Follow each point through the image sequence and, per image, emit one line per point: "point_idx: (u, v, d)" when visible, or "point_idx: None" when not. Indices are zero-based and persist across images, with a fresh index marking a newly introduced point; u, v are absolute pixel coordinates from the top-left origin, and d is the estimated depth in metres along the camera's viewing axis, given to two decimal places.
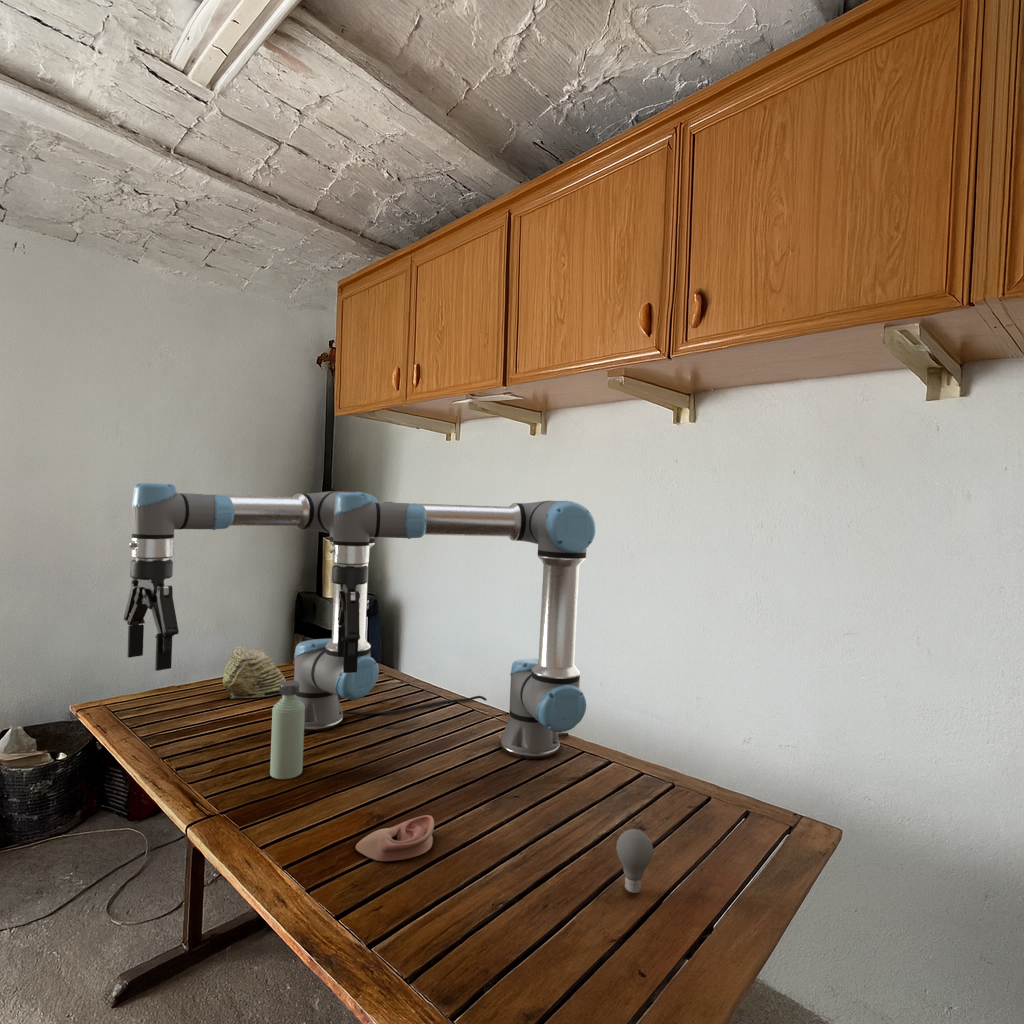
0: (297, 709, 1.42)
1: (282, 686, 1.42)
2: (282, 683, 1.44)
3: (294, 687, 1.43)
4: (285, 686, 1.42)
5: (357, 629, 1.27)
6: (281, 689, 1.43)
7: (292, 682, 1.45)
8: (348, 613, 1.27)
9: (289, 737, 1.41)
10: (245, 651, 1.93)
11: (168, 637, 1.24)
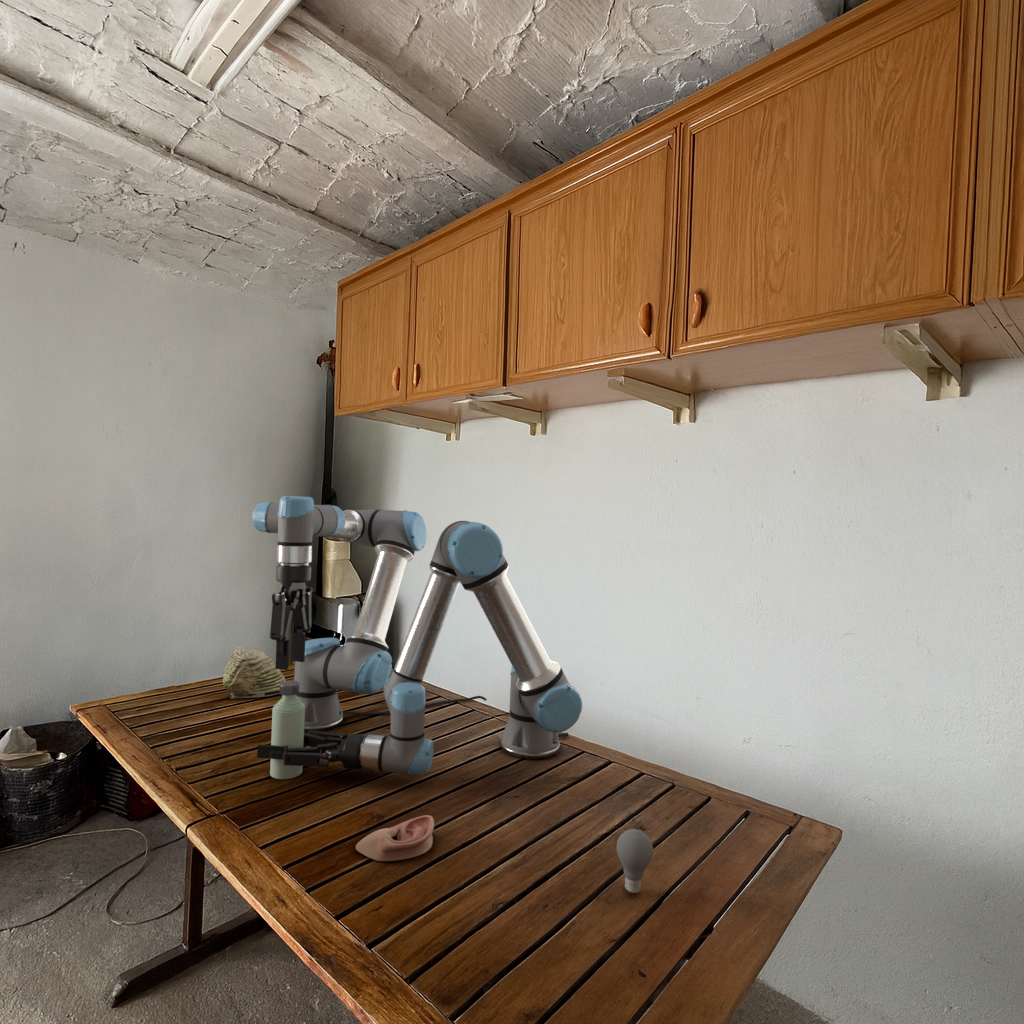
0: (297, 709, 1.42)
1: (282, 686, 1.42)
2: (282, 683, 1.44)
3: (294, 687, 1.43)
4: (285, 686, 1.42)
5: None
6: (281, 689, 1.43)
7: (292, 682, 1.45)
8: None
9: (289, 737, 1.41)
10: (245, 651, 1.93)
11: (279, 641, 1.39)
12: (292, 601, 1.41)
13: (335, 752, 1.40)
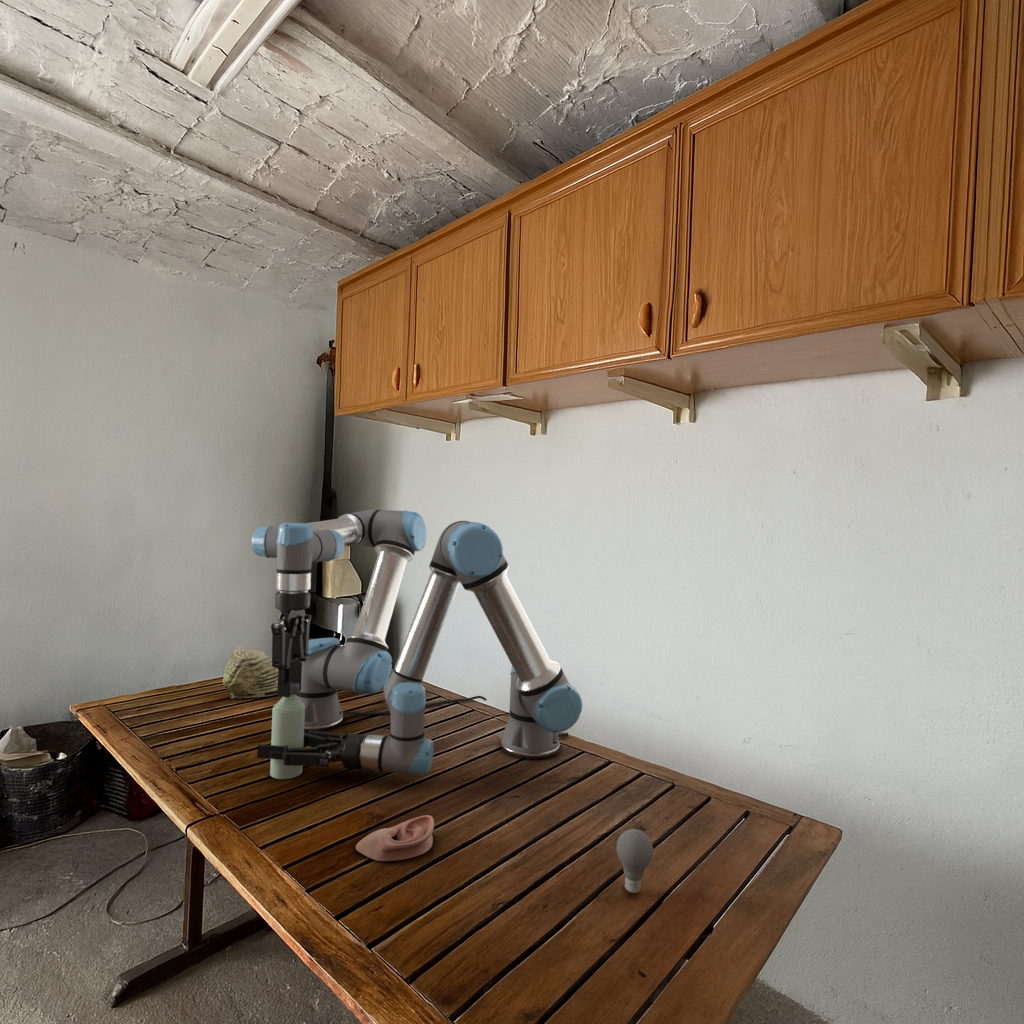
0: (297, 709, 1.42)
1: None
2: None
3: (294, 687, 1.43)
4: None
5: None
6: None
7: (292, 682, 1.45)
8: None
9: (289, 737, 1.41)
10: (245, 651, 1.93)
11: (280, 669, 1.40)
12: (291, 629, 1.42)
13: (335, 752, 1.40)
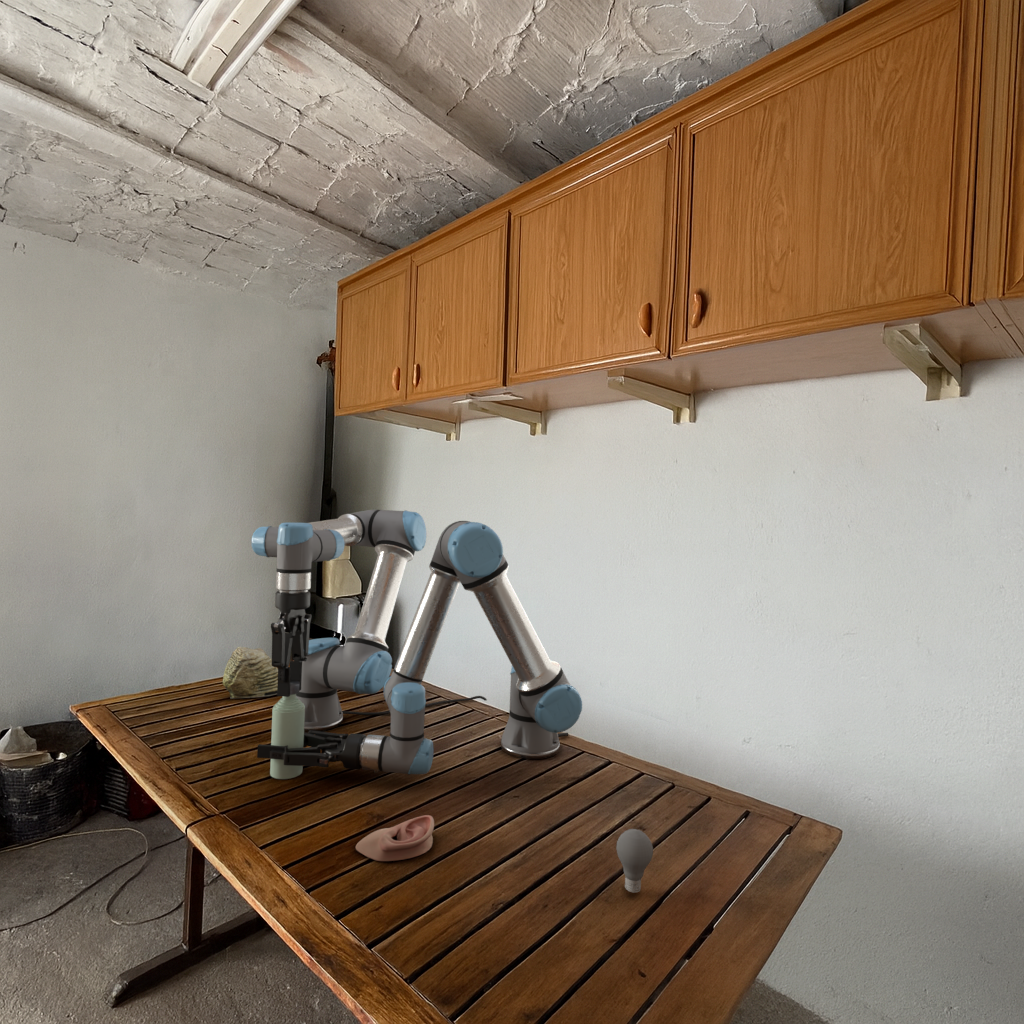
0: (297, 709, 1.42)
1: None
2: (294, 683, 1.44)
3: None
4: None
5: None
6: None
7: None
8: None
9: (289, 737, 1.41)
10: (245, 651, 1.93)
11: (280, 668, 1.40)
12: (291, 628, 1.42)
13: (335, 752, 1.40)
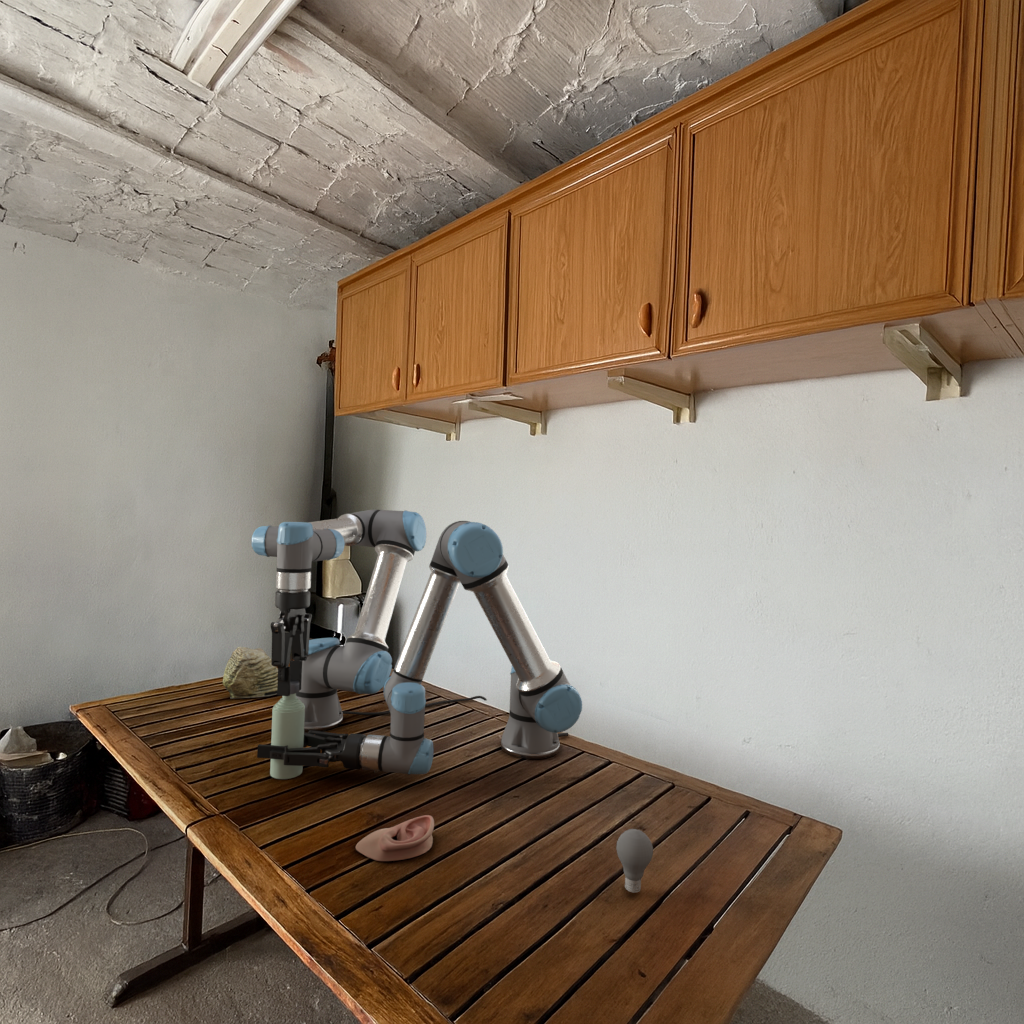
0: (297, 709, 1.42)
1: None
2: None
3: None
4: None
5: None
6: None
7: (290, 682, 1.44)
8: None
9: (289, 737, 1.41)
10: (245, 651, 1.93)
11: (280, 667, 1.40)
12: (291, 628, 1.42)
13: (335, 752, 1.40)
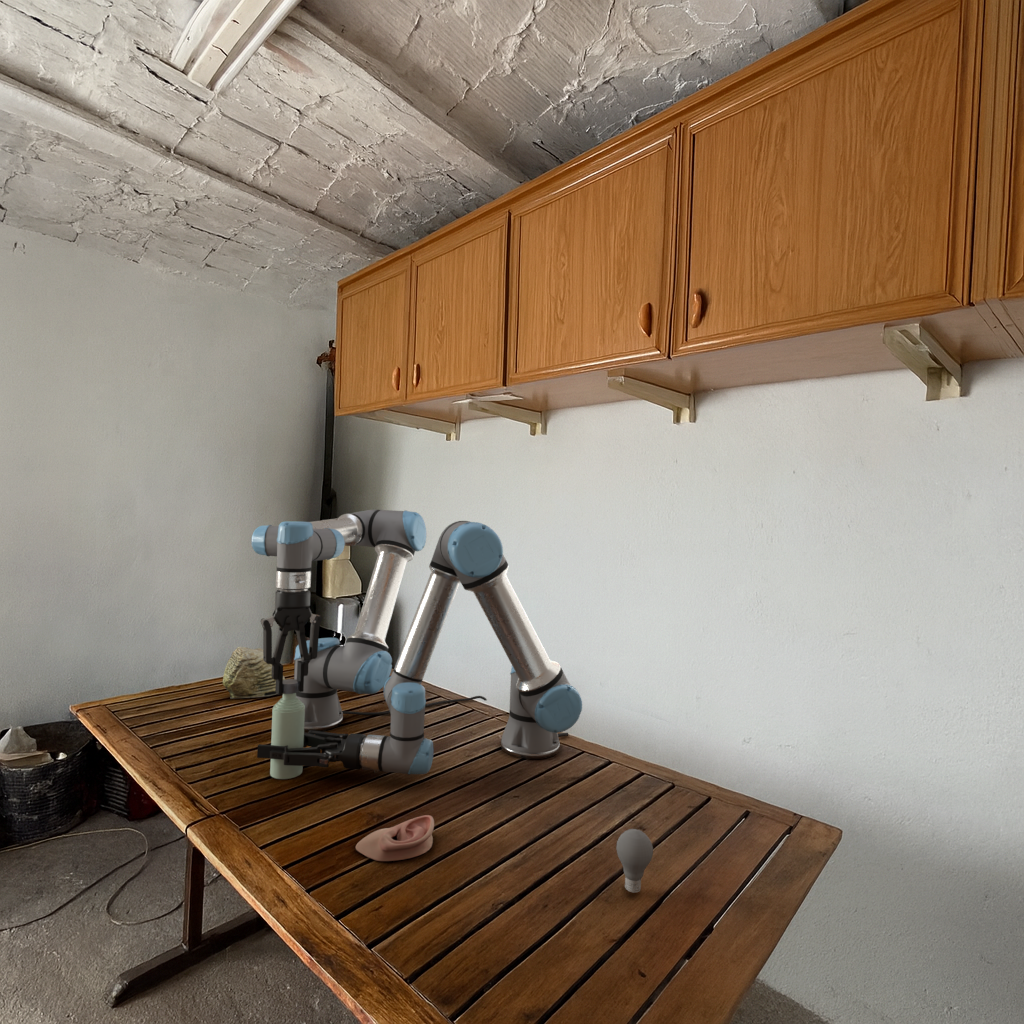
0: (297, 709, 1.42)
1: (290, 685, 1.42)
2: (285, 683, 1.43)
3: None
4: (293, 684, 1.43)
5: None
6: (289, 688, 1.42)
7: (290, 680, 1.45)
8: None
9: (289, 737, 1.41)
10: (245, 651, 1.93)
11: None
12: None
13: (335, 752, 1.40)
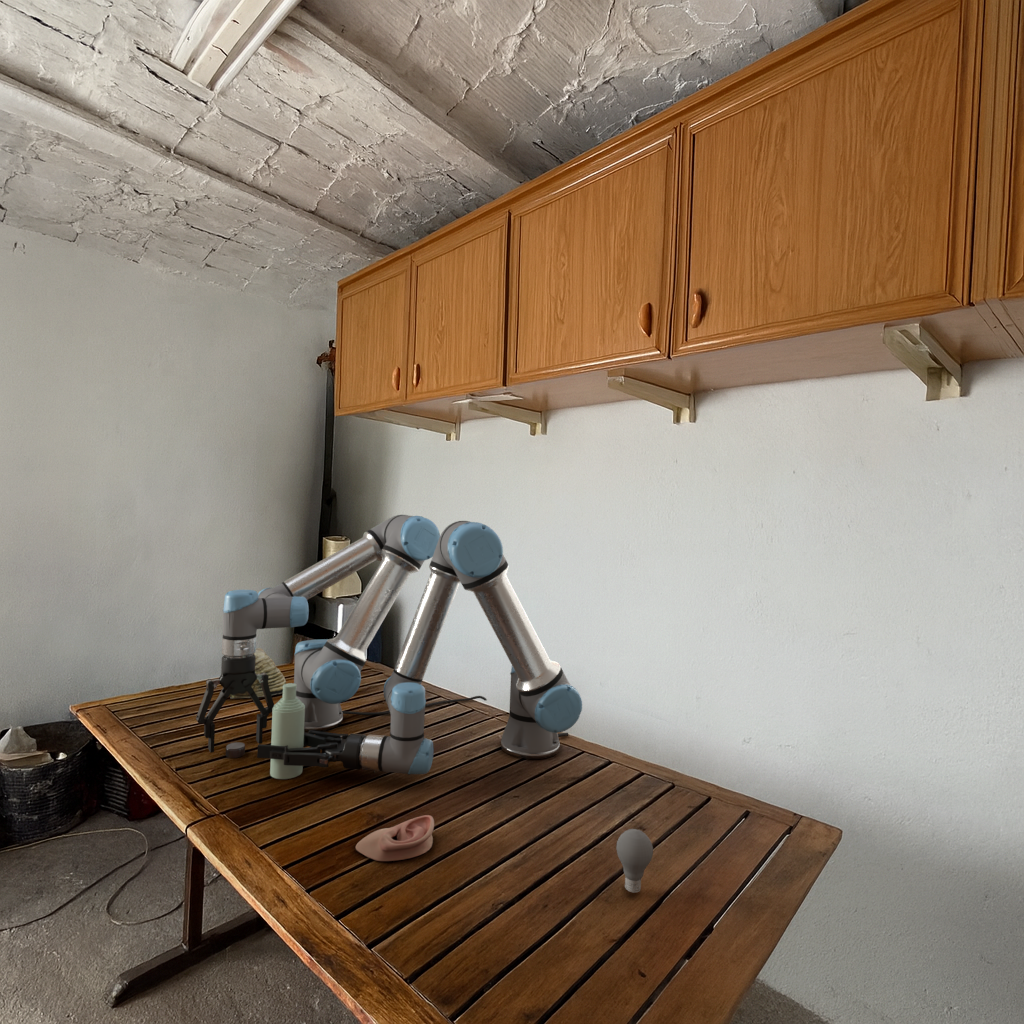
0: (297, 709, 1.42)
1: (235, 749, 1.51)
2: (230, 747, 1.52)
3: (244, 747, 1.54)
4: (239, 748, 1.52)
5: None
6: (234, 753, 1.51)
7: (236, 744, 1.54)
8: None
9: (289, 737, 1.41)
10: None
11: None
12: None
13: (335, 752, 1.40)
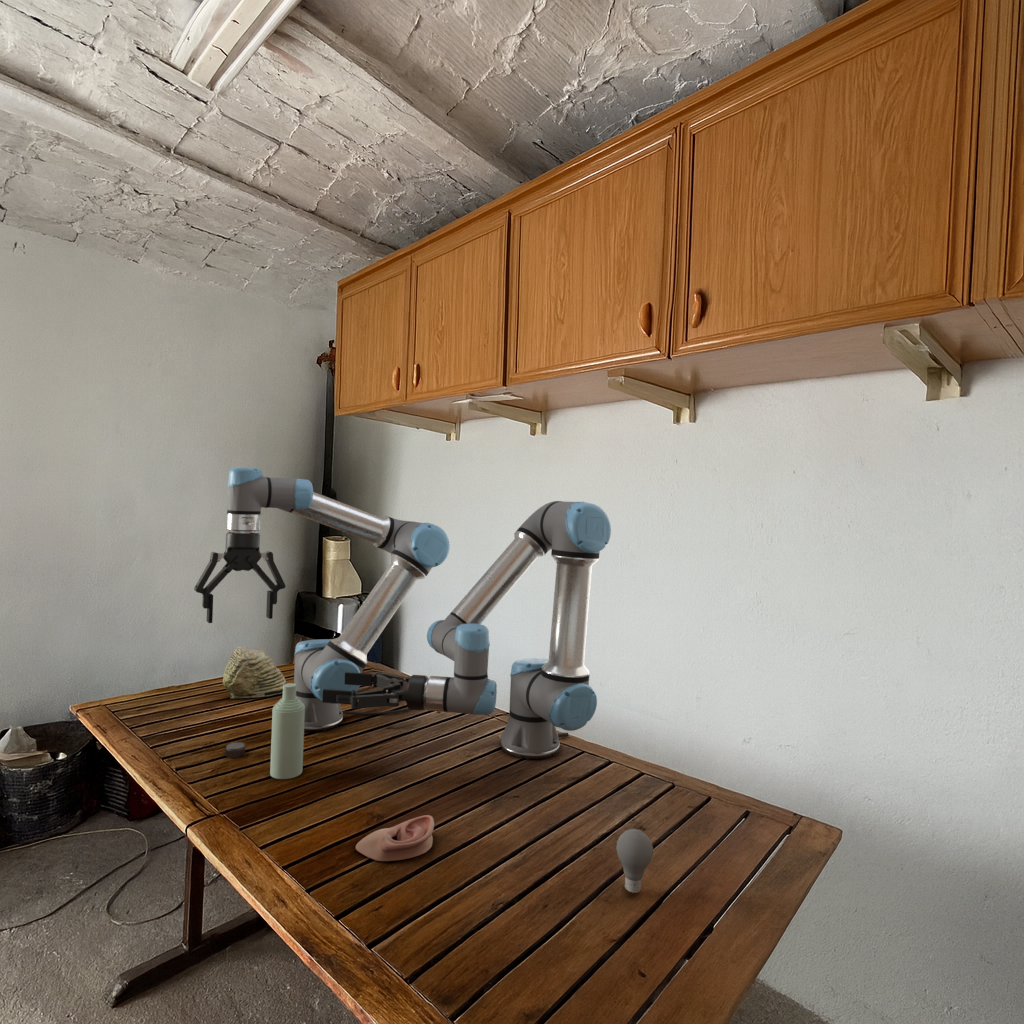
0: (297, 709, 1.42)
1: (235, 749, 1.51)
2: (230, 747, 1.52)
3: (244, 747, 1.54)
4: (239, 748, 1.52)
5: None
6: (234, 753, 1.51)
7: (236, 744, 1.54)
8: None
9: (289, 737, 1.41)
10: (245, 651, 1.93)
11: None
12: None
13: (400, 691, 1.38)
